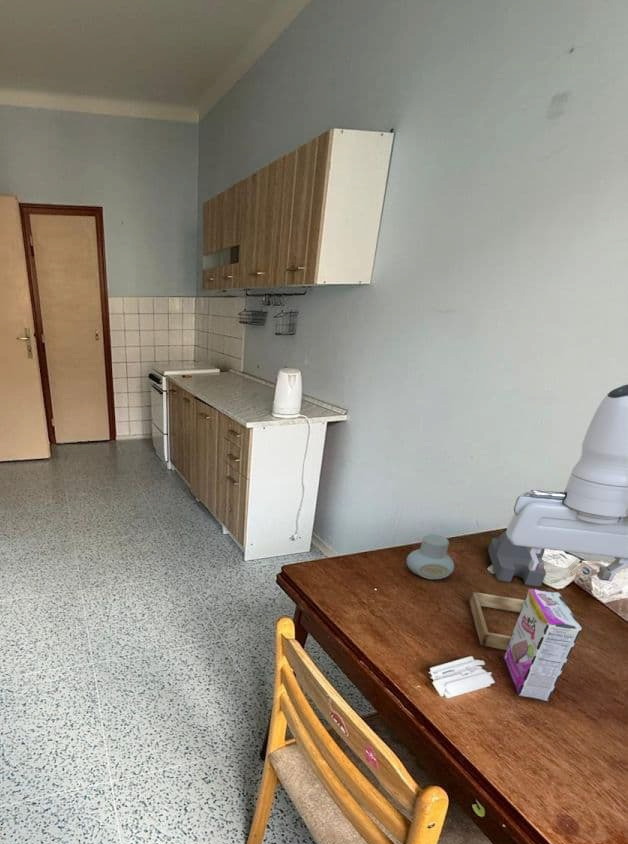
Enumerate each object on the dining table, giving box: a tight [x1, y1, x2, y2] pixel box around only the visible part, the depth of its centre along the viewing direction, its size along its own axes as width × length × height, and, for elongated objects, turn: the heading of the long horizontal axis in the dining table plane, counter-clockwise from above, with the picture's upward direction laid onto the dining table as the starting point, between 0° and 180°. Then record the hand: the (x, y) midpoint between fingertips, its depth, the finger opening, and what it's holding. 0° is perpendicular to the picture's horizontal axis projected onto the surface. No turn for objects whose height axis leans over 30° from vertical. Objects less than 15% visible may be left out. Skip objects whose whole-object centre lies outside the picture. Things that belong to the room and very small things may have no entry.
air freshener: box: [406, 534, 455, 581], centre depth 120 cm, size 11×8×10 cm
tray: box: [468, 591, 525, 651], centre depth 101 cm, size 12×17×3 cm
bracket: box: [487, 530, 547, 587], centre depth 122 cm, size 10×18×11 cm, turn 156°
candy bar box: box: [503, 588, 582, 702], centre depth 84 cm, size 11×5×16 cm, turn 161°
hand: (568, 574), depth 78 cm, fingers open, 8 cm apart
